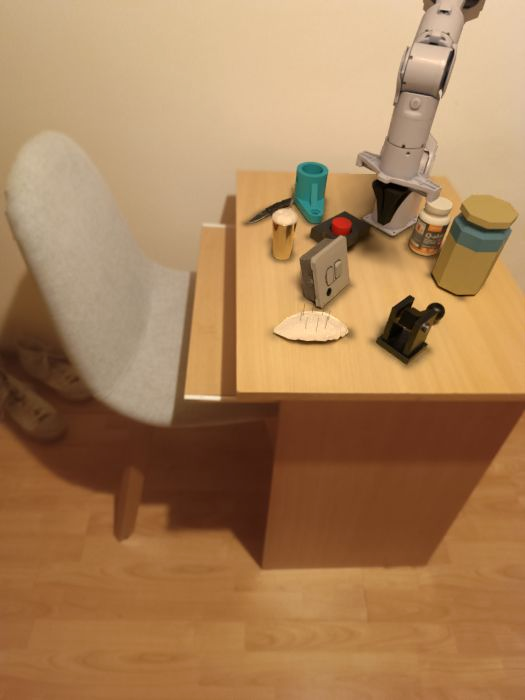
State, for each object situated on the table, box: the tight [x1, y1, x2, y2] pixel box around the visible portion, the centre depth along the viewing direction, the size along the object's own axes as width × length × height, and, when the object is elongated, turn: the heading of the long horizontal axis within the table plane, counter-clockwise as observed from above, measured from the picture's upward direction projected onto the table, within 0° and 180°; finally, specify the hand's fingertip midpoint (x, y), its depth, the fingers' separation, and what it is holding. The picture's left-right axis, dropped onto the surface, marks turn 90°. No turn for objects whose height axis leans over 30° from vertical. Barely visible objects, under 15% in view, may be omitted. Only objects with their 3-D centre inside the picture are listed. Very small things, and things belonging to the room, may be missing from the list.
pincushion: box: [273, 298, 350, 342], centre depth 72 cm, size 12×6×6 cm, turn 93°
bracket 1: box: [293, 161, 329, 224], centre depth 96 cm, size 6×12×7 cm, turn 6°
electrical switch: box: [298, 235, 350, 309], centre depth 78 cm, size 9×5×9 cm, turn 141°
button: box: [331, 217, 352, 236], centre depth 87 cm, size 4×4×2 cm
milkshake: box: [271, 198, 299, 261], centre depth 84 cm, size 4×5×10 cm
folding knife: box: [247, 197, 295, 224], centre depth 97 cm, size 13×1×2 cm
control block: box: [309, 210, 372, 249], centre depth 90 cm, size 11×9×4 cm
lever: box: [398, 302, 446, 331], centre depth 72 cm, size 12×3×3 cm, turn 132°
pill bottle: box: [409, 195, 454, 257], centre depth 87 cm, size 6×6×10 cm
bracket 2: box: [375, 294, 438, 365], centre depth 70 cm, size 5×6×8 cm
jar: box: [431, 194, 520, 295], centre depth 79 cm, size 9×9×15 cm
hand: (383, 222), depth 78 cm, fingers closed
